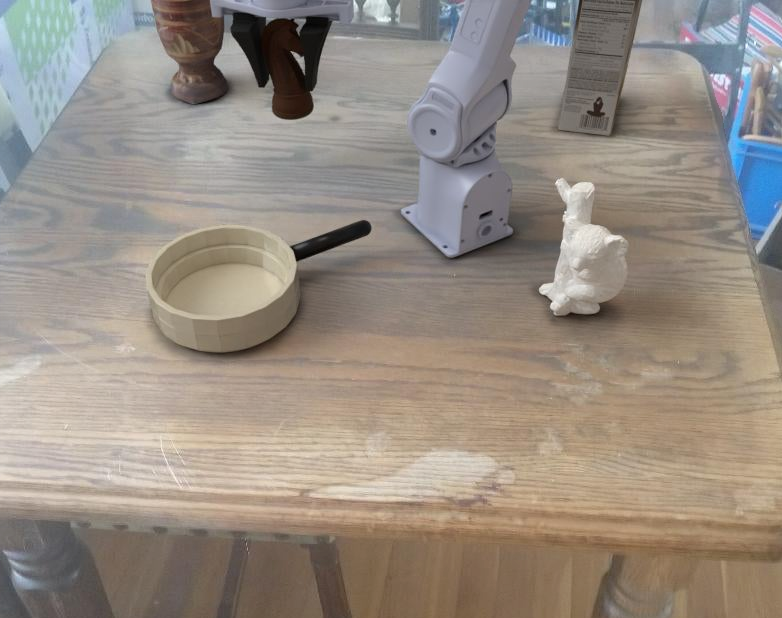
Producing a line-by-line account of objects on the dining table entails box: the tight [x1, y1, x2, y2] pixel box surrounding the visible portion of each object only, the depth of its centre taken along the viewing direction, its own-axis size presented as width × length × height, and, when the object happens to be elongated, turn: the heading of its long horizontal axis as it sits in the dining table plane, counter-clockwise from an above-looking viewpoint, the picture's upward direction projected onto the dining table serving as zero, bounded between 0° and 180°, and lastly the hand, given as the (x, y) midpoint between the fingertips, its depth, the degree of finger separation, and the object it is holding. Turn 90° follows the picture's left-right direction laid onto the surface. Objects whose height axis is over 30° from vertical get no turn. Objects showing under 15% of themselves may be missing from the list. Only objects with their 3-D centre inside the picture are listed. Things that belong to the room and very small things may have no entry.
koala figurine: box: [538, 177, 630, 317], centre depth 77 cm, size 8×7×12 cm
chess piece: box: [262, 18, 315, 121], centre depth 92 cm, size 5×5×10 cm
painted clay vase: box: [150, 0, 229, 105], centre depth 106 cm, size 12×9×20 cm
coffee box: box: [557, 0, 643, 137], centre depth 98 cm, size 9×6×16 cm
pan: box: [144, 223, 301, 354], centre depth 82 cm, size 14×14×4 cm
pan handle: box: [289, 219, 373, 263], centre depth 84 cm, size 10×2×2 cm, turn 118°
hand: (287, 85), depth 93 cm, fingers closed on chess piece, 5 cm apart
